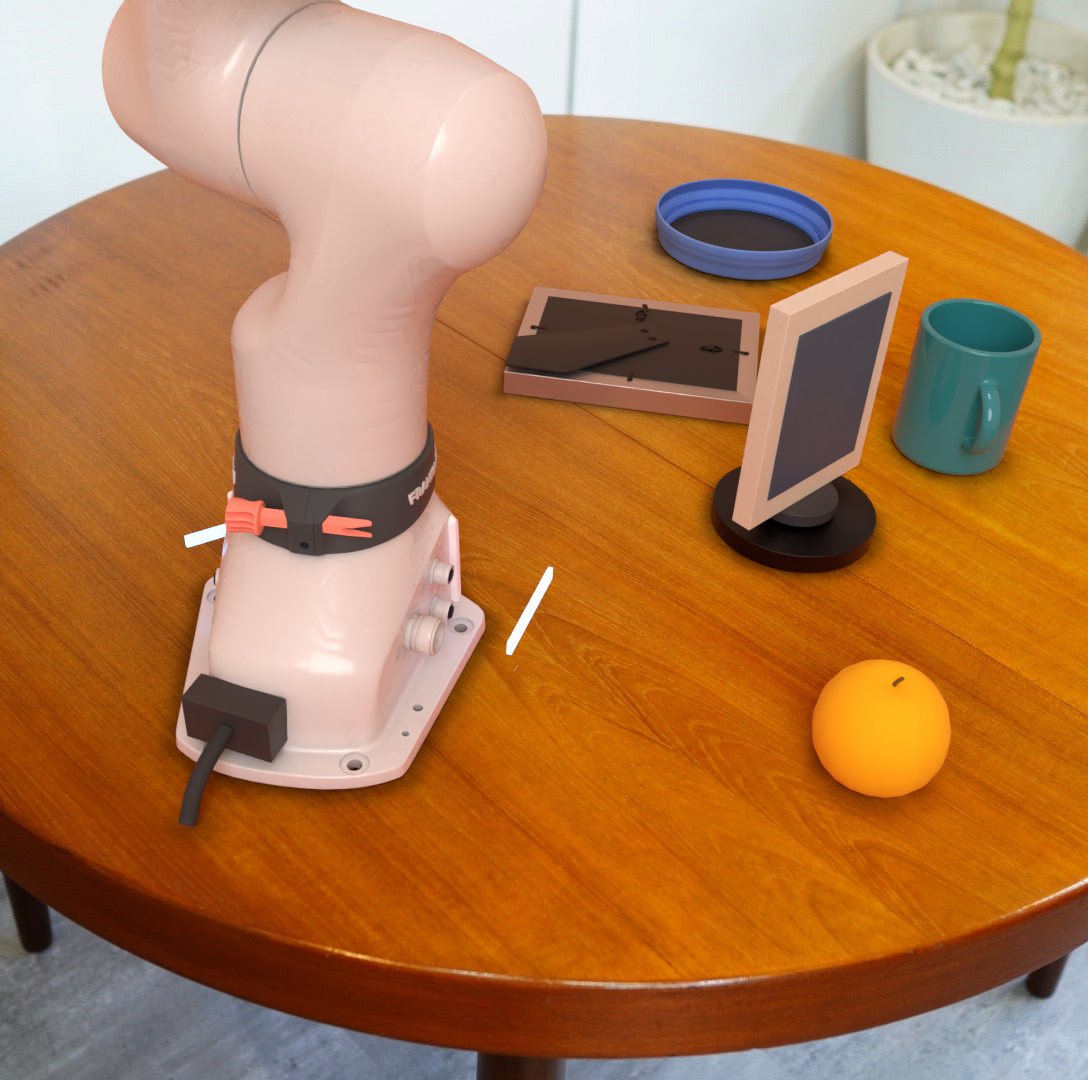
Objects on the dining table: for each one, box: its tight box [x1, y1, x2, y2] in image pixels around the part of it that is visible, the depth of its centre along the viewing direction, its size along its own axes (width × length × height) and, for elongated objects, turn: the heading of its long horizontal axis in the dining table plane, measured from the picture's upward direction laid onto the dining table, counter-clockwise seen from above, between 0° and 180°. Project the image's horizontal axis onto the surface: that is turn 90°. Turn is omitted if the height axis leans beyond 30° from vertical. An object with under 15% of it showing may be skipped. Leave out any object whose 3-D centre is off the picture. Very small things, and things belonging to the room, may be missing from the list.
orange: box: [811, 658, 952, 799], centre depth 77 cm, size 8×8×8 cm
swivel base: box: [710, 465, 877, 574], centre depth 98 cm, size 12×12×2 cm
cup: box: [891, 297, 1043, 476], centre depth 103 cm, size 9×12×11 cm
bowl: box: [654, 177, 834, 281], centre depth 134 cm, size 18×18×4 cm
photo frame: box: [732, 250, 910, 530], centre depth 92 cm, size 6×13×18 cm, turn 133°
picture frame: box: [503, 285, 761, 426], centre depth 115 cm, size 16×3×21 cm
